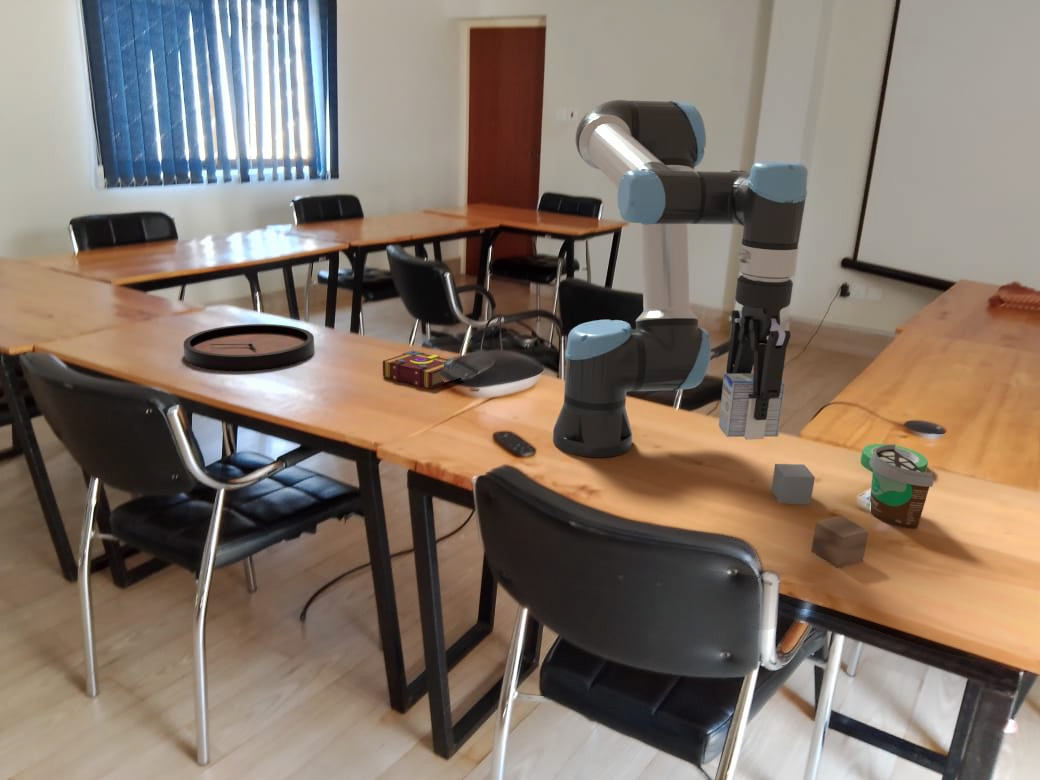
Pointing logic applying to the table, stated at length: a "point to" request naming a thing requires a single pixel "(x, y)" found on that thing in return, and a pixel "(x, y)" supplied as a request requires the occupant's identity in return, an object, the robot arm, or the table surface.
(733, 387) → the medicine box
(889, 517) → the food container
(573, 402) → the robot arm
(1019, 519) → the table surface
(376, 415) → the table surface
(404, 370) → the decorative book
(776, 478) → the slate grey block
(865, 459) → the tape roll
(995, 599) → the table surface
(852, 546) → the walnut block
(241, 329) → the wall clock
